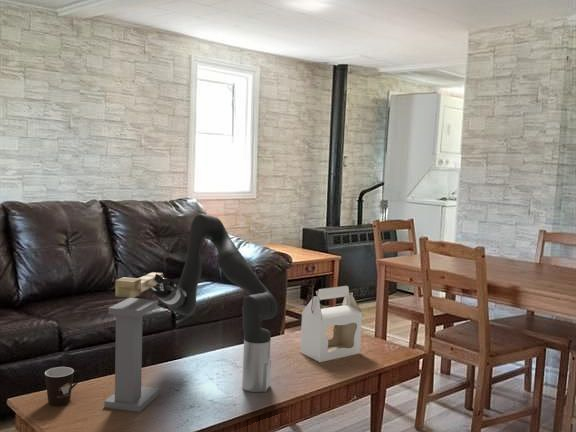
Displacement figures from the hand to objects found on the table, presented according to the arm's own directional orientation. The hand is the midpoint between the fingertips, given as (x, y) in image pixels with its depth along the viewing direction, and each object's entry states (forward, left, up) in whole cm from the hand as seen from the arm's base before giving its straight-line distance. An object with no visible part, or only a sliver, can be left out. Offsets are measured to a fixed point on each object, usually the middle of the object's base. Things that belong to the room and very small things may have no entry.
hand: (149, 276), depth 196 cm
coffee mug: (+20, +18, -39) cm, 48 cm away
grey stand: (0, +11, -39) cm, 40 cm away
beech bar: (0, +6, -3) cm, 6 cm away
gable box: (-55, -57, -39) cm, 88 cm away
